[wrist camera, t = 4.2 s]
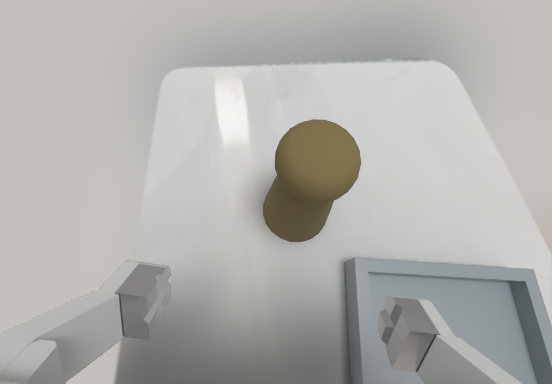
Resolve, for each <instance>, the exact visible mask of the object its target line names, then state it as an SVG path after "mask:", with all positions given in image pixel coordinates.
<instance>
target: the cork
mask: <svg viewBox="0 0 552 384" xmlns="http://www.w3.org/2000/svg"><path fill="white" fill-rule="evenodd" d="M360 165H361V158H360V151H359V148H358V146H357V144H356V142H355V140H354V138H353V137H352V136H351V135H350V134H349V133H348V131H347V130H346V129H344V128H342V127H341V126H339V125H338V124H336V123H333V122H330V121H326V120H309V121H305V122H302V123H299V124H298V125H296V126H294V127H292V128H290V129H289V130H288V132H287V133H286V134H285V135H284V136H283V137H282V139H281V140H280V142H279V145H278V147H277V150H276V154H275V170H276V172H277V176H276V178H275V180H274V182H273V184H272V186H271V188H270V190H269V192H268V194H267V196H266V199H265V202H264V204H263V215H264V218H265V221H266V224H267V225H268V227H269V228H270V230H271V231H272V232H273V233H274V234H276V235H277V236H278V237H280V238H282V239H284V240H287V241H290V242H302V241H306V240H309V239H311V238H313V237H314V236H316V235H317V234H318V233H319V232H320V231H321V229H322V228H323V226H324V225H325V222H326V220H327V217H328V214H329V212H330V209H331V207H332V204H333V202H334V200H336V199H338V198H340V197H341V196H342V195H344V194H345V193H347V192H348V191H349V190H350V189H351V187H352V186H353V184H354V183H355V181H356V180H357V178H358V174H359V170H360Z"/></svg>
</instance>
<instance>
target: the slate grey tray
mask: <svg viewBox="0 0 552 384" xmlns="http://www.w3.org/2000/svg"><path fill="white" fill-rule="evenodd" d="M345 277H346V297H347V316H348V336H349V356H350V376H351V384H425V383H424V382H423V381H422V380H421V379H420V377H419V376H418V375H417V373H416V372H409V371H403V370H396V369H392V367H391V364H390V362H389V359H388V357H387V354H386V351H385V350H386V347H387V345H386V344H385V343H384V342H383V341H382V340H381V338H380V336H379V333H378V328H377V320H378V316H379V313H380V312H381V311H382V310H384V309H385V306H384V300H385V298H386V297H387V296H388V295H390V296H398V297H406V298H417V299H426V300H429V301H431V302H432V303H433V305H434V306H435V308H436V309H437V311H438V312H439V314H440V315H441V316H442V318H443V319H444V321H445V322H446V324H447V325H448V327H449V328H450V329H451V331H452V332H453V334H454V335H455V337H457V338H461V339H462V340H464V341H465V342H466V343H468V344H469V345H471V346H472V347H473V348H475V349H476V350H477V351H479V352H480V353H481V354H483V355H484V356H485V357H487V358H488V359H489V360H491V361H492V362H494V363H495V364H496V365H498V366H499V367H500V368H502V369H503V370H504V371H506V372H507V373H508V374H510V375H511V376H513V377H514V378H515V379H517V380H518V381H519V382H521V383H522V384H552V326H551V323H550V320H549V317H548V314H547V311H546V307H545V304H544V301H543V298H542V295H541V292H540V289H539V286H538V282H537V279H536V276H535V273H534V270H533V269H522V268H507V267H491V266H476V265H460V264H445V263H429V262H414V261H398V260H383V259H367V258H353V259H351V260H348V261H346V262H345Z"/></svg>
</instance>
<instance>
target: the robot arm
mask: <svg viewBox="0 0 552 384" xmlns="http://www.w3.org/2000/svg"><path fill="white" fill-rule="evenodd" d="M170 276H171V272H170V267H169V266H164V265H158V264H151V263H145V262H137V261H130V260H128V261H125V262H124V263H123V264H122V265H121V266H120V267H119V268H118V269H117V271H116V272H115V273H114V274H113V275H112V276H111V277H110V278H109V279H108V280H107V281H106V283H105V284H104V285H103V286H102V287H101V288H100V289H99V290H98V291H92V292H90V293H88V294H85V295H83V296H81V297H79V298H77V299H75V300H73V301H71V302H68V303H66V304H64V305H62V306H59V307H57V308H55V309H53V310H51V311H49V312H46V313H44V314H42V315H40V316H38V317H36V318H33V319H31V320H29V321H27V322H24V323H22V324H20V325H18V326H16V327H14V328H12V329H9V330H7V331H5V332H3V333H1V334H0V384H66V382H67V381H68V380H69V379H71V378H72V377H73V376H74V375H76V374H77V373H78V372H80V371H81V370H82V369H84V368H85V367H86V366H87V365H89V364H90V363H91V362H93V361H94V360H95V359H97V358H98V357H99V356H100V355H102V354H103V353H104V352H106V351H107V350H108V349H110V348H111V347H112V346H114V345H115V344H116V343H118V342H119V341H120V340H121V339H123V337H133V338H144V339H150V337H151V335H152V333H153V331H154V329H155V327H156V325H157V324H158V315H159V314H161V313H163V312H164V310H165V308H166V306H167V304H168V301H169V298H170V292H171V285H170V283H169V282H168V279H169V277H170ZM384 306H385V309H384V310H382V311H381V312H380V313H379V316H378V320H377V328H378V333H379V336H380V338H381V340H382V341H383V342H384V343H385V344H386V345H387V347H386V350H385V351H386V354H387V357H388V359H389V362H390V364H391V367H392V369H396V370H403V371H409V372H416V373H417V375H418V376H419V377H420V379H421V380H422V381H423V382H424V383H425V384H522V383H521V382H519V381H518V380H517V379H515V378H514V377H513V376H511V375H510V374H508V373H507V372H506V371H504V370H503V369H502V368H500V367H499V366H498V365H496V364H495V363H494V362H492V361H491V360H489V359H488V358H487V357H485V356H484V355H483V354H481V353H480V352H479V351H477V350H476V349H475V348H473V347H472V346H471V345H469V344H468V343H466V342H465V341H464V340H462V339H461V338H457V337H455V335H454V334H453V332H452V331H451V329H450V328H449V327H448V325H447V324H446V322H445V321H444V319H443V318H442V316H441V315H440V314H439V312H438V311H437V309H436V308H435V306H434V305H433V303H432V302H431V301H429V300H426V299H417V298H406V297H398V296H390V295H388V296H387V297H386V298H385V300H384Z"/></svg>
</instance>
